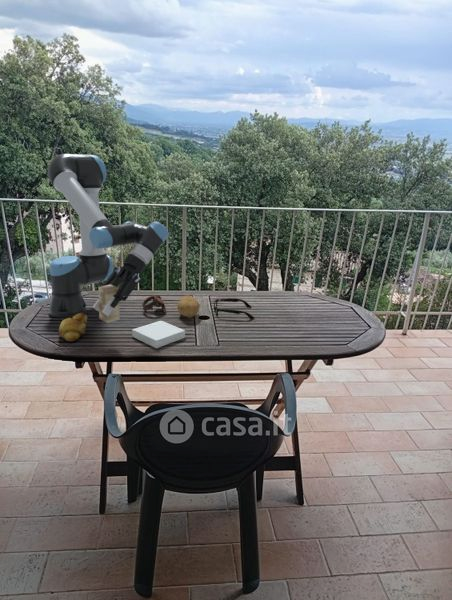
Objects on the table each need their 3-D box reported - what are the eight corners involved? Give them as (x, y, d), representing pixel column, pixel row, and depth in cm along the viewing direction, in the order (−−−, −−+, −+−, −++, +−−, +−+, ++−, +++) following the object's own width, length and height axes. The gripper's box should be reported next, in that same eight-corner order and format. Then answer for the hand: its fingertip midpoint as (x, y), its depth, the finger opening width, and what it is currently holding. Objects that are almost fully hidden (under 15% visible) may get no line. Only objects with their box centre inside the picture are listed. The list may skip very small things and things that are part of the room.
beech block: (99, 318, 152) (98, 287, 147) (111, 315, 155) (110, 284, 151) (107, 323, 148) (106, 290, 144) (119, 319, 152) (119, 288, 148)
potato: (176, 322, 177) (176, 303, 174) (177, 310, 190) (177, 293, 188) (199, 322, 178) (200, 304, 175) (199, 310, 191) (199, 293, 188)
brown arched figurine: (166, 316, 183) (156, 302, 179) (147, 323, 186) (137, 309, 182) (170, 301, 193) (161, 287, 189) (152, 308, 196) (143, 294, 192)
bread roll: (80, 344, 153) (79, 323, 150) (53, 343, 152) (51, 323, 149) (89, 330, 165) (88, 311, 162) (64, 329, 164) (62, 310, 162)
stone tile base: (132, 336, 160) (132, 329, 160) (161, 327, 171) (161, 320, 170) (156, 348, 152) (156, 340, 151) (184, 337, 162) (184, 330, 161)
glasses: (213, 308, 198) (213, 298, 197) (251, 307, 199) (251, 297, 198) (214, 321, 183) (213, 310, 181) (254, 320, 183) (255, 309, 182)
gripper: (159, 270, 151) (121, 324, 145) (129, 260, 162) (92, 309, 156) (148, 258, 146) (108, 314, 139) (117, 248, 157) (79, 299, 150)
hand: (100, 311), depth 148 cm, fingers closed on beech block, 5 cm apart
